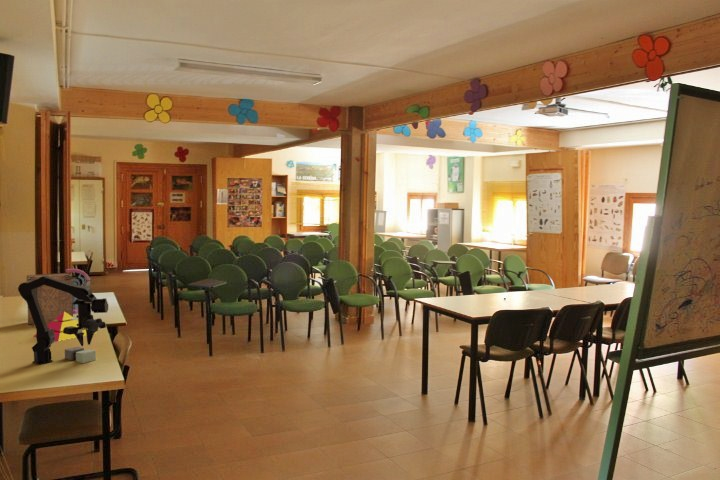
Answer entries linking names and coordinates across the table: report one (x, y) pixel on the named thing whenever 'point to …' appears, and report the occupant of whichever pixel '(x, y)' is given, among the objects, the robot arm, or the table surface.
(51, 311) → the book
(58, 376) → the table surface
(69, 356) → the charcoal end cap
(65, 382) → the table surface
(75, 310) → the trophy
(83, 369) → the table surface
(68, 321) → the pyramid toy
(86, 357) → the sage green end cap
